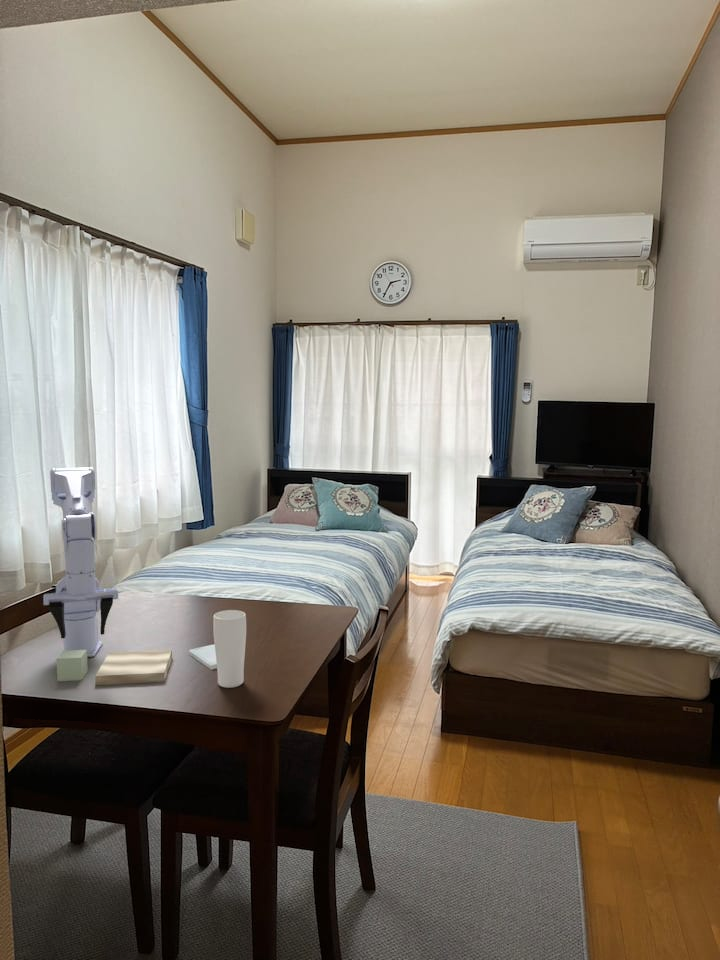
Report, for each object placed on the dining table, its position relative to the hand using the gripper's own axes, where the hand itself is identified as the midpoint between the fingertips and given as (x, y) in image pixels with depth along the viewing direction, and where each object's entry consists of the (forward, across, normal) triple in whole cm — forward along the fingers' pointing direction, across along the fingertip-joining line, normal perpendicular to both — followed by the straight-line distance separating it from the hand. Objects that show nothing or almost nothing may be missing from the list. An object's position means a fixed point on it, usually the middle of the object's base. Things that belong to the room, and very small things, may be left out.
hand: (83, 635), depth 147 cm
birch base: (+10, +10, +3) cm, 15 cm away
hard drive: (+11, +28, +6) cm, 31 cm away
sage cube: (+10, -3, +4) cm, 11 cm away
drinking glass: (+11, +29, -11) cm, 33 cm away
